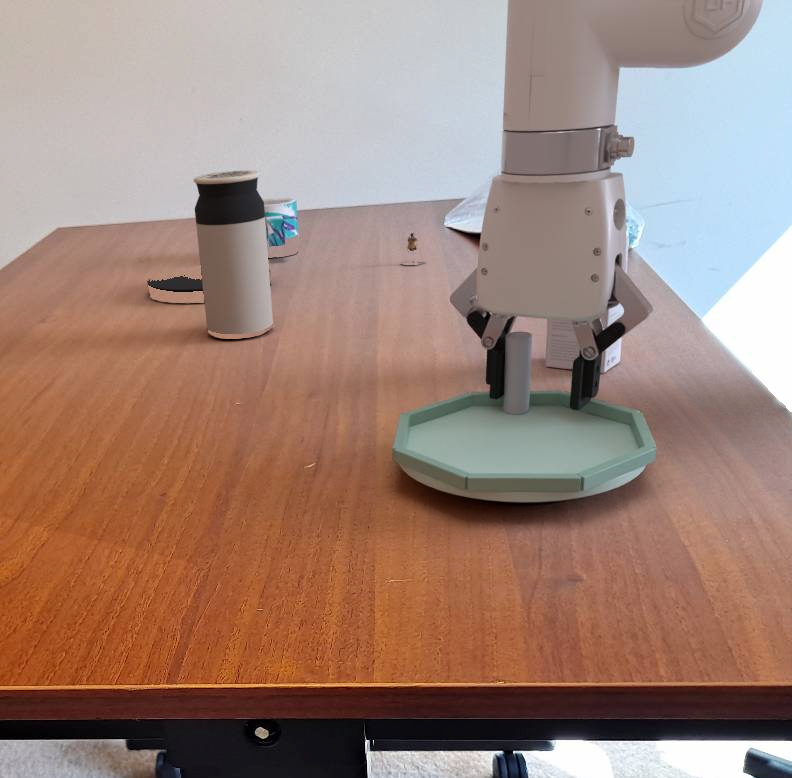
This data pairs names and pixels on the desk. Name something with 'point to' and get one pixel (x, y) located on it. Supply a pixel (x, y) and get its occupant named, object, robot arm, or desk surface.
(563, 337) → the cosmetic box
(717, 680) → the desk surface
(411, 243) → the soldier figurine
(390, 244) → the desk surface
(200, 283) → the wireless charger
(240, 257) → the travel mug
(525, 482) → the tray
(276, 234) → the mug
